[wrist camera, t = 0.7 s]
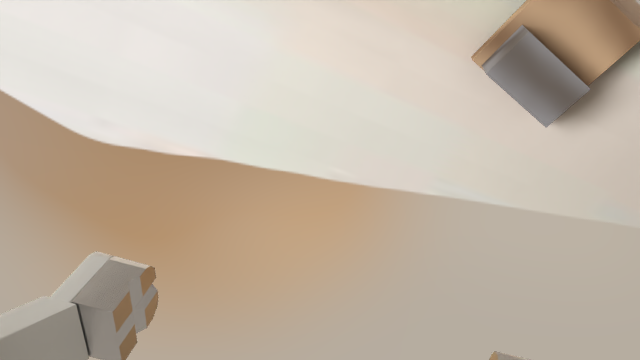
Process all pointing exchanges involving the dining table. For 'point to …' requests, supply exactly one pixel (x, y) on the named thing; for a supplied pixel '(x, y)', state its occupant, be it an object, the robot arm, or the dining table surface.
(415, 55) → the dining table surface
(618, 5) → the block
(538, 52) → the beam
